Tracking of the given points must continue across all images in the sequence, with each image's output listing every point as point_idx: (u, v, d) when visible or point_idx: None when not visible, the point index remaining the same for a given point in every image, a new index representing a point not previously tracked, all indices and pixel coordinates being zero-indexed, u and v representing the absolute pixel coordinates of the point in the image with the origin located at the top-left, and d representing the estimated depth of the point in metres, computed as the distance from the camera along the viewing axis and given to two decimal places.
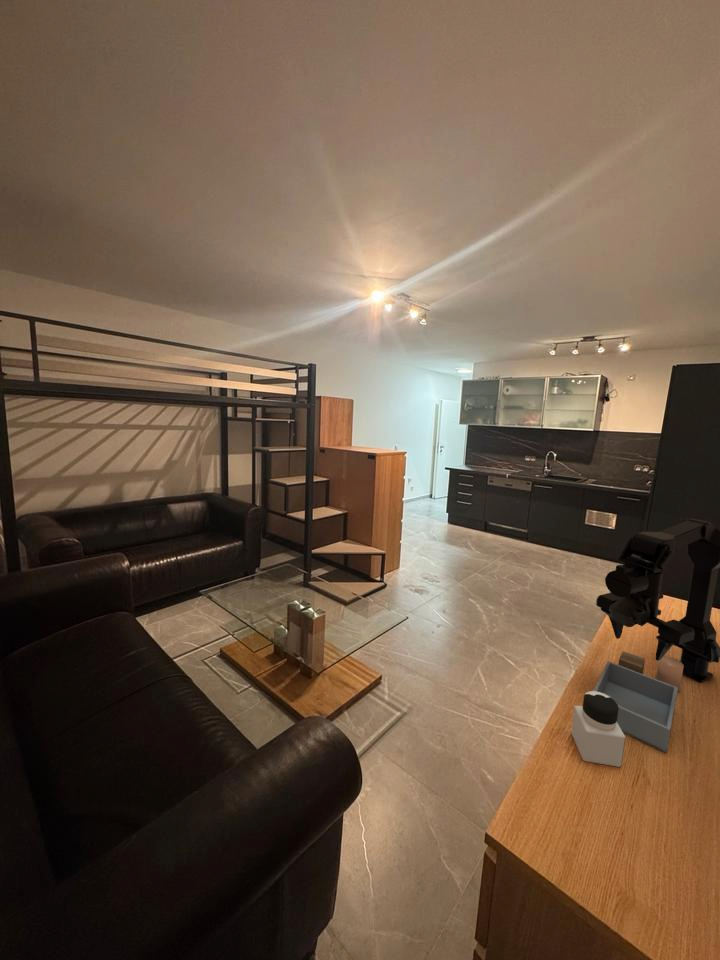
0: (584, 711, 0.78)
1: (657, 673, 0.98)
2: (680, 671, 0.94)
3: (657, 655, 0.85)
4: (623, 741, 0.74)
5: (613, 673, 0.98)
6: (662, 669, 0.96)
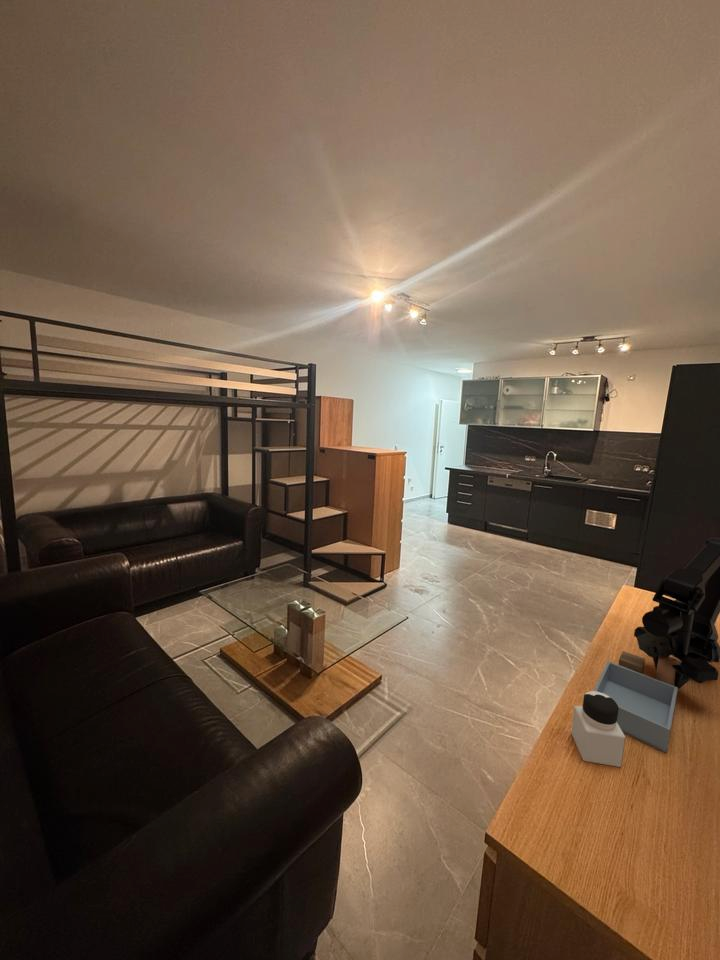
0: (584, 711, 0.78)
1: (657, 673, 0.98)
2: None
3: (675, 683, 0.94)
4: (623, 741, 0.74)
5: (613, 673, 0.98)
6: (662, 669, 0.96)
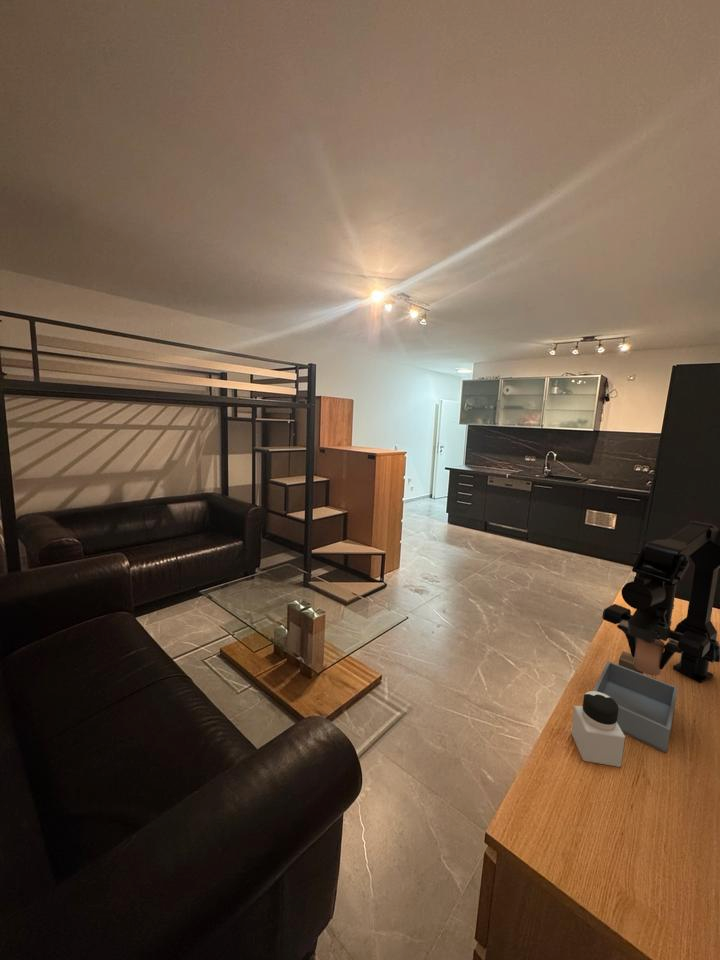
0: (584, 711, 0.78)
1: (639, 657, 0.86)
2: (663, 648, 0.85)
3: (661, 664, 0.84)
4: (623, 741, 0.74)
5: (613, 673, 0.98)
6: (647, 651, 0.85)
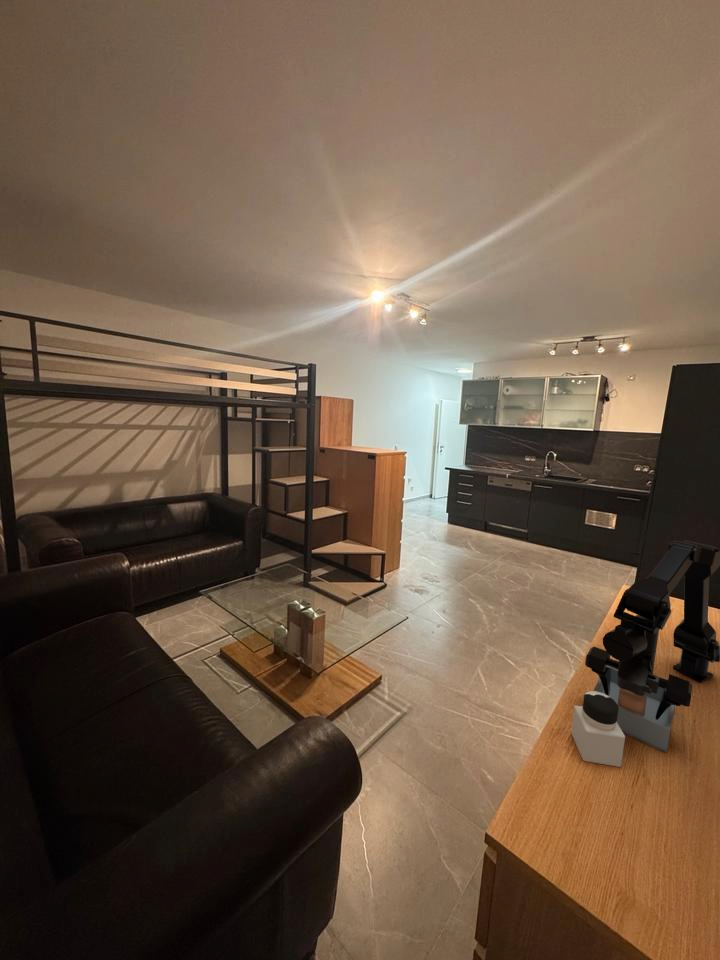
0: (584, 711, 0.78)
1: None
2: None
3: (658, 715, 0.81)
4: (623, 741, 0.74)
5: (613, 673, 0.98)
6: (632, 707, 0.83)
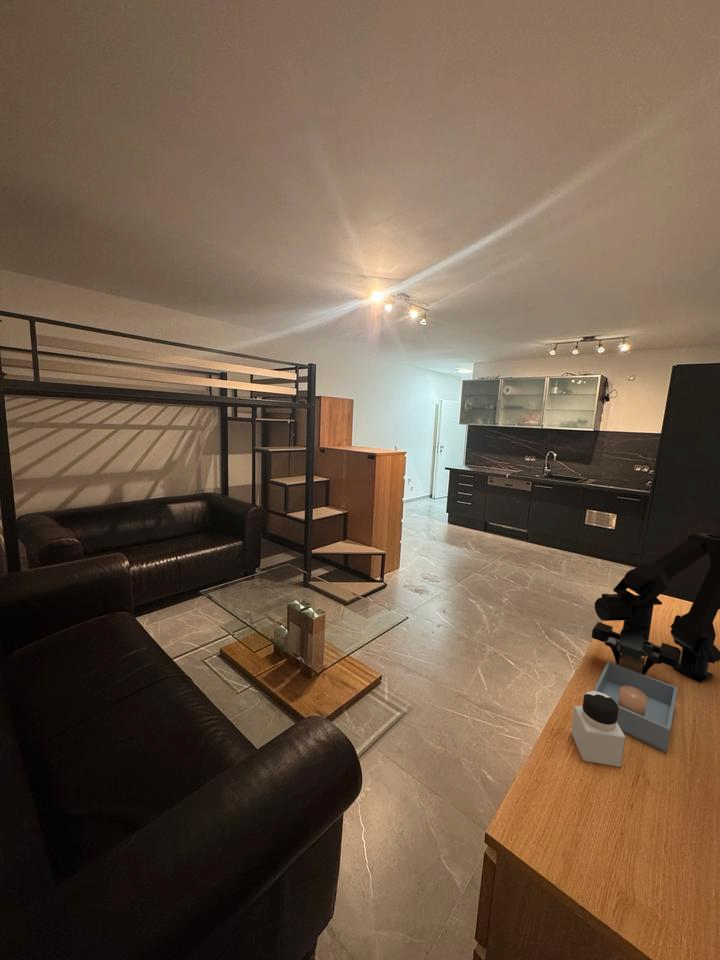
0: (584, 711, 0.78)
1: None
2: (646, 701, 0.83)
3: (643, 673, 0.99)
4: (623, 741, 0.74)
5: (613, 673, 0.98)
6: (632, 706, 0.83)
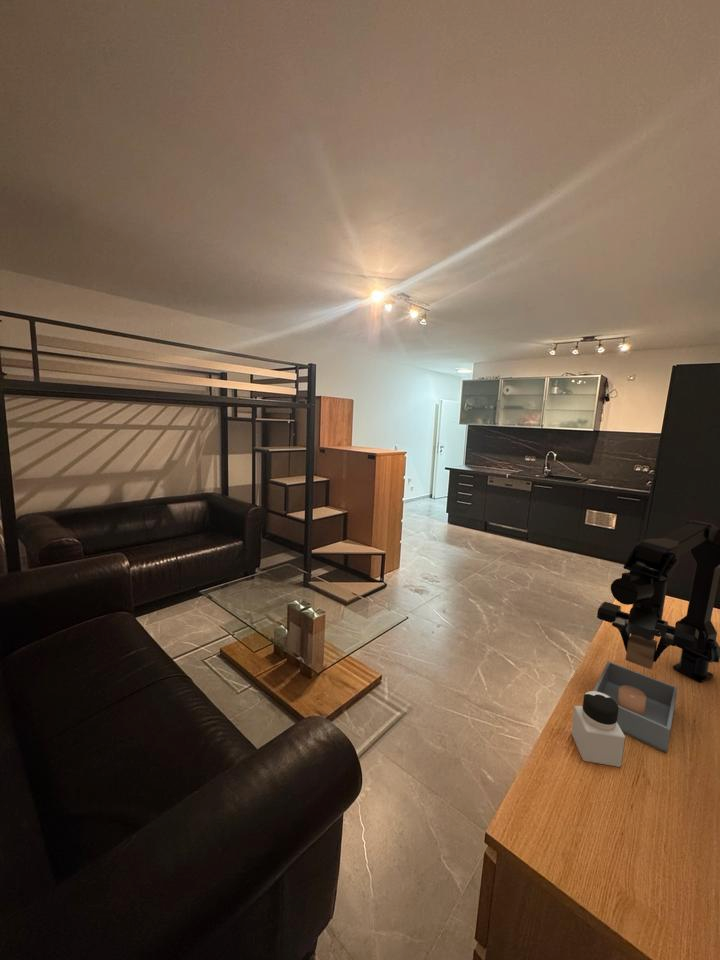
0: (584, 711, 0.78)
1: None
2: (645, 701, 0.83)
3: (655, 657, 0.88)
4: (623, 741, 0.74)
5: (613, 673, 0.98)
6: (631, 706, 0.83)
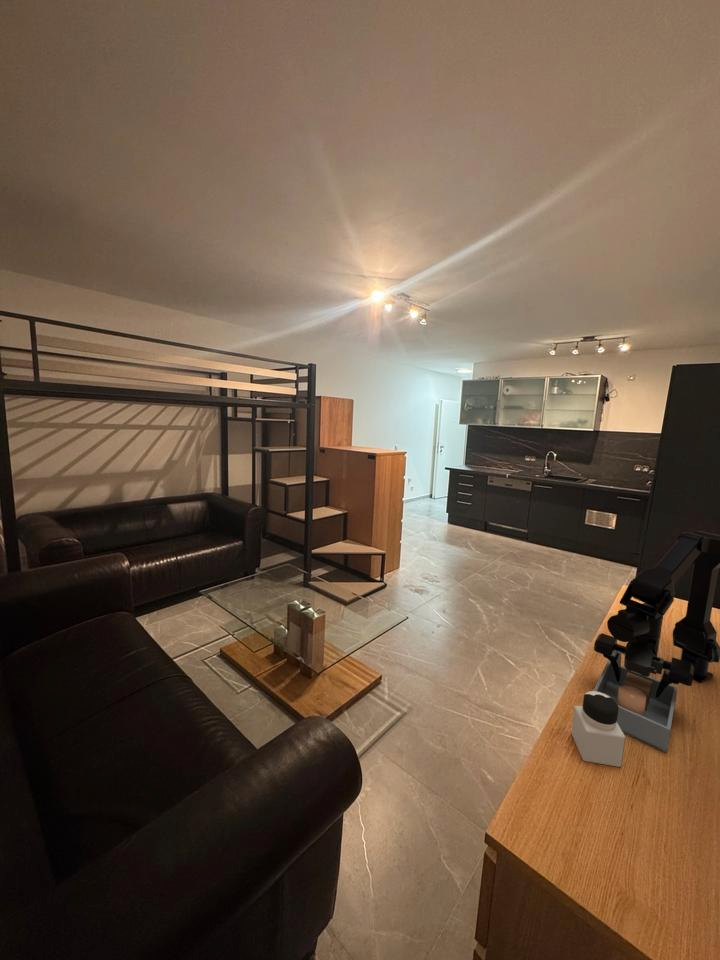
0: (584, 711, 0.78)
1: None
2: (645, 701, 0.83)
3: (658, 693, 0.88)
4: (623, 741, 0.74)
5: (613, 673, 0.98)
6: (630, 706, 0.83)
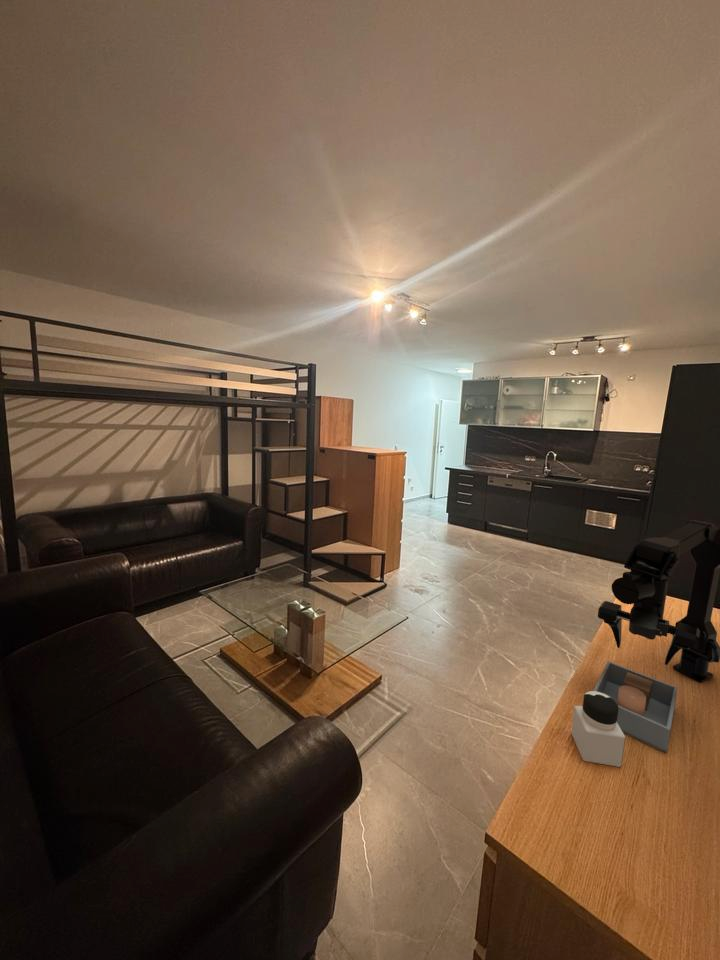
0: (584, 711, 0.78)
1: None
2: (645, 702, 0.83)
3: (667, 660, 0.86)
4: (623, 741, 0.74)
5: (613, 673, 0.98)
6: (629, 706, 0.83)
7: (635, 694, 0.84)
